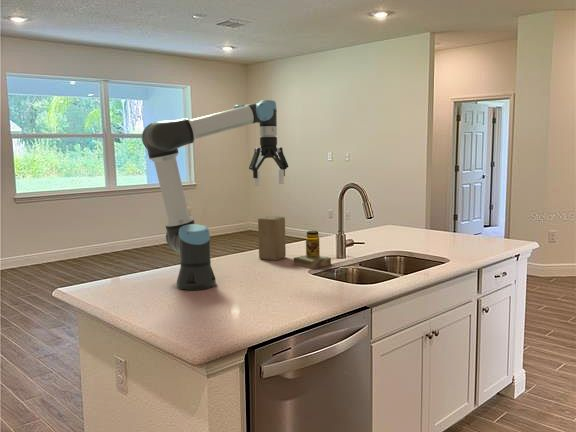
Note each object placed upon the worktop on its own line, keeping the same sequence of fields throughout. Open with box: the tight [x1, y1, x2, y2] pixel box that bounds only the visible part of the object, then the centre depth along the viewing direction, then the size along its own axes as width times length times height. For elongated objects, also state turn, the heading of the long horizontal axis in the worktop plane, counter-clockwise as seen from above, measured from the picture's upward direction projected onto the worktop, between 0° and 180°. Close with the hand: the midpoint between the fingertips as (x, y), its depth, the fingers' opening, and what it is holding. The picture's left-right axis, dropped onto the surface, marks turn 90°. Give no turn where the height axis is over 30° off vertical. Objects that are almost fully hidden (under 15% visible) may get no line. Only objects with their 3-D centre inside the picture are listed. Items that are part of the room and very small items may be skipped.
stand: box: [293, 255, 332, 270], centre depth 234 cm, size 12×12×3 cm
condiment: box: [301, 230, 325, 259], centre depth 233 cm, size 7×8×12 cm
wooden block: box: [257, 215, 286, 262], centre depth 247 cm, size 10×10×20 cm
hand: (269, 184), depth 228 cm, fingers open, 13 cm apart
